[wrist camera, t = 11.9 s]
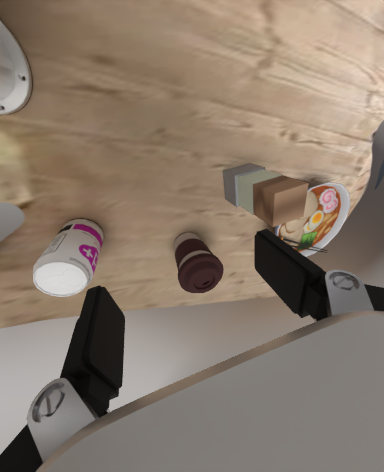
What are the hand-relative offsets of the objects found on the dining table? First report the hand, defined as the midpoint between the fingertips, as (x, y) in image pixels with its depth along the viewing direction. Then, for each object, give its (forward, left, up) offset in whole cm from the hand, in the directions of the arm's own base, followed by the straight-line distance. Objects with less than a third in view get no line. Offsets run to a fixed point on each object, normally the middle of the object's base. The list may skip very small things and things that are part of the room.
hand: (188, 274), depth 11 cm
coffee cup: (+20, +4, -32) cm, 38 cm away
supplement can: (+9, -18, -32) cm, 38 cm away
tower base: (+7, +20, -32) cm, 39 cm away
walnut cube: (+7, +20, -20) cm, 29 cm away
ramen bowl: (+22, +38, -32) cm, 55 cm away
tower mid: (+7, +20, -26) cm, 34 cm away
